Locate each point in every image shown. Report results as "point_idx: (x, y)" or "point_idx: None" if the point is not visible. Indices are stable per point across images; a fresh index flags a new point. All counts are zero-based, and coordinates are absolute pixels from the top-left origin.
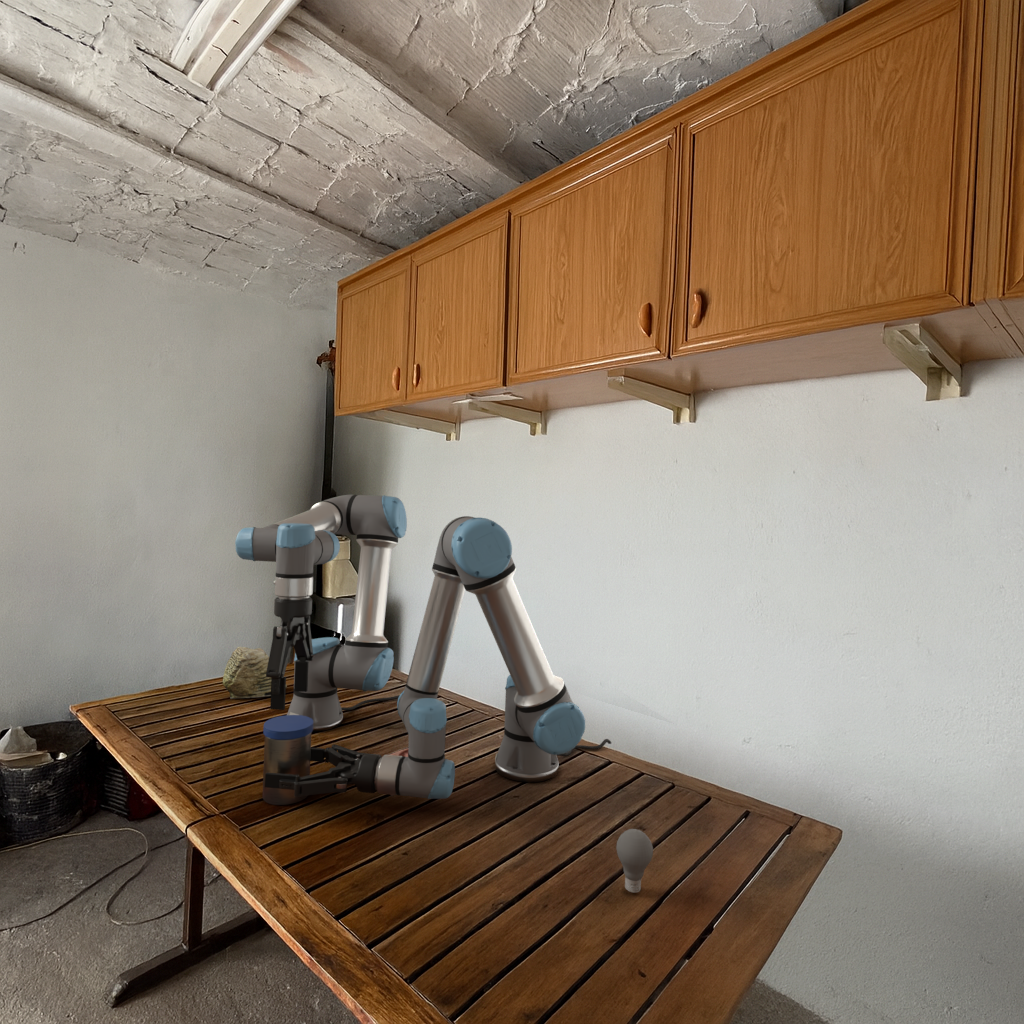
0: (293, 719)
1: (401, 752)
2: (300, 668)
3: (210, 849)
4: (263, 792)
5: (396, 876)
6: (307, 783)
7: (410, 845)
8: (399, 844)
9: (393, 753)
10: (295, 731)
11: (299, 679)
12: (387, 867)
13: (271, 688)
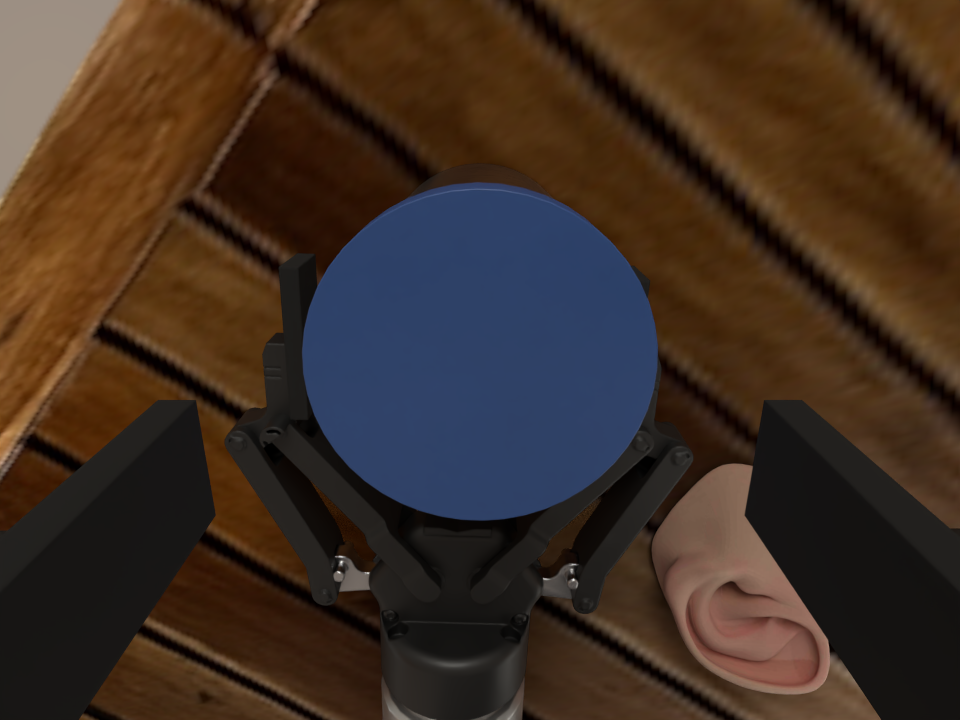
0: (555, 375)
1: (797, 622)
2: (916, 645)
3: (28, 162)
4: (418, 187)
5: (101, 698)
6: (248, 479)
7: (246, 701)
8: (243, 678)
9: (791, 596)
10: (348, 462)
11: (820, 527)
12: (130, 674)
13: (17, 530)
